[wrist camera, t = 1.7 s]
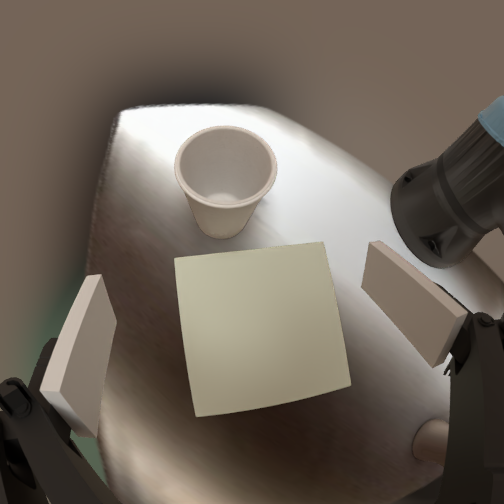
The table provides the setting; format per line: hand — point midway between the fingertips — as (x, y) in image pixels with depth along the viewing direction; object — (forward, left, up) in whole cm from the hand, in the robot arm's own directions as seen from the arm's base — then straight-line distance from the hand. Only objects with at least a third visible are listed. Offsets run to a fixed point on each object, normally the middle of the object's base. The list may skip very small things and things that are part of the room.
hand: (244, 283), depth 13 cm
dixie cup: (-1, -11, -16) cm, 20 cm away
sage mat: (-3, +1, -16) cm, 16 cm away
